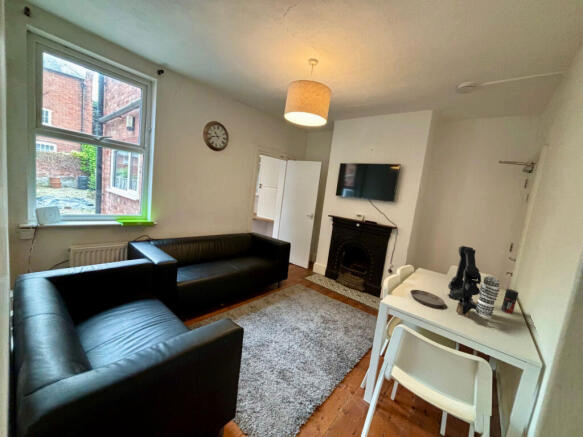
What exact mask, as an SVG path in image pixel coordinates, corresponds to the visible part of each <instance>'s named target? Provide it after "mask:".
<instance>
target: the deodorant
mask: <svg viewBox="0 0 583 437" xmlns="http://www.w3.org/2000/svg"><path fill="white" fill-rule="evenodd" d="M518 296H519V292H518V291H517V290H513V289H510V288H506V290H505V294H504V298H503V300H502V301H503V302H502V305H501V308H500V310H501V311H502V312H504V313H507V314H509V315H512V314H514V311H515V307H516V303H517V299H518Z"/></svg>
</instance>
